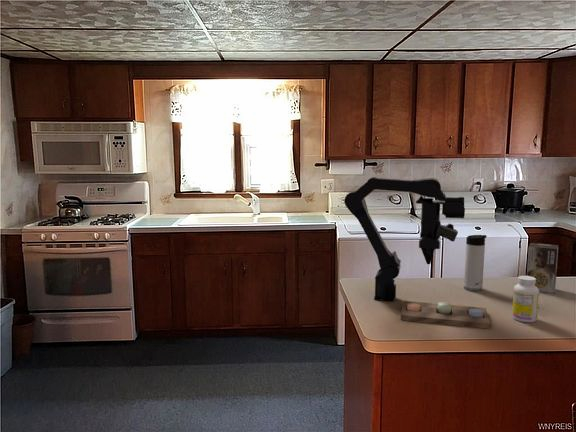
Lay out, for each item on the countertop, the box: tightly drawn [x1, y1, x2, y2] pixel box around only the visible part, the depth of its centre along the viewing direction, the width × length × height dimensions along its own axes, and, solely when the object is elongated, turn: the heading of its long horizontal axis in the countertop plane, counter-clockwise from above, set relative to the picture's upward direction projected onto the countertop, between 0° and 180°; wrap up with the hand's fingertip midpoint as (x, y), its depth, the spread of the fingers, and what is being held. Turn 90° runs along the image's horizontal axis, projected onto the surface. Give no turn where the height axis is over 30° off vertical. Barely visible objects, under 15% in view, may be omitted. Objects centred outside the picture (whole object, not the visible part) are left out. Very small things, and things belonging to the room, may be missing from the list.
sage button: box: [437, 301, 452, 315], centre depth 141 cm, size 4×4×2 cm
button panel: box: [400, 300, 492, 330], centre depth 141 cm, size 25×13×2 cm, turn 73°
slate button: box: [468, 309, 483, 318], centre depth 139 cm, size 4×4×2 cm
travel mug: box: [463, 234, 487, 292], centre depth 165 cm, size 6×7×20 cm
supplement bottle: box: [511, 275, 540, 323], centre depth 137 cm, size 7×7×13 cm
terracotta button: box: [406, 303, 421, 312], centre depth 144 cm, size 4×4×2 cm
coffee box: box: [526, 242, 559, 294], centre depth 164 cm, size 9×6×16 cm
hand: (428, 264), depth 152 cm, fingers closed
